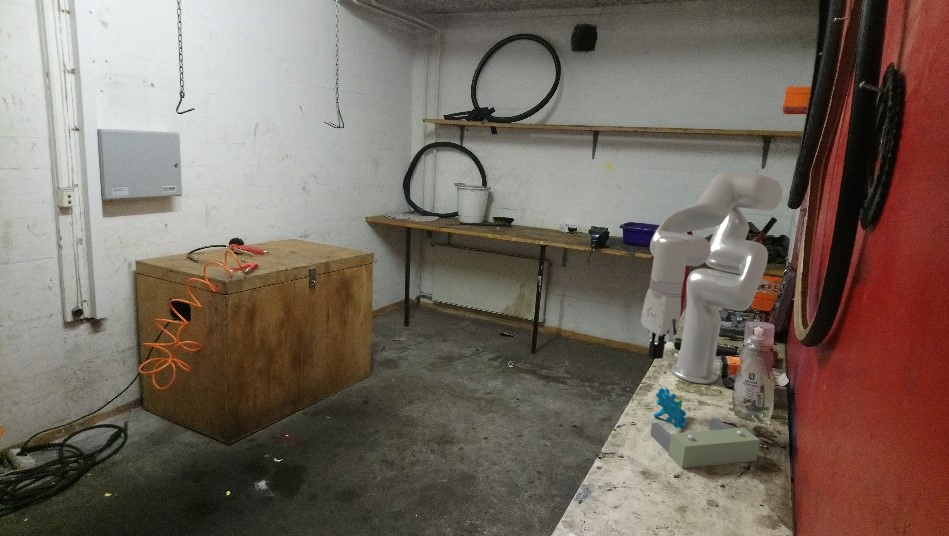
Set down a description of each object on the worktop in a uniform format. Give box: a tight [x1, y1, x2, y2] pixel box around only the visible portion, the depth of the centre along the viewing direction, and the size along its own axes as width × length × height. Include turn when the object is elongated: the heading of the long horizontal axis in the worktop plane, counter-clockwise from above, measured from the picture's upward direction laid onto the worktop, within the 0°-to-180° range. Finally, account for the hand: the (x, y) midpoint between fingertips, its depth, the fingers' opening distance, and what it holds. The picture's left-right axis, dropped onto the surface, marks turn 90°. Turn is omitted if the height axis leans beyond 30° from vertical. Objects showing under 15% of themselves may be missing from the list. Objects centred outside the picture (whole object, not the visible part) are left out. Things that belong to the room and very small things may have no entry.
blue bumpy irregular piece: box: [653, 387, 688, 429], centre depth 133 cm, size 11×6×10 cm
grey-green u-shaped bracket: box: [650, 417, 761, 469], centre depth 121 cm, size 13×18×6 cm
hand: (655, 357), depth 138 cm, fingers closed
